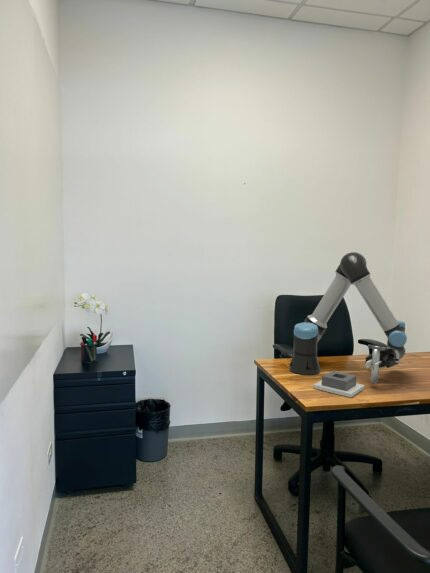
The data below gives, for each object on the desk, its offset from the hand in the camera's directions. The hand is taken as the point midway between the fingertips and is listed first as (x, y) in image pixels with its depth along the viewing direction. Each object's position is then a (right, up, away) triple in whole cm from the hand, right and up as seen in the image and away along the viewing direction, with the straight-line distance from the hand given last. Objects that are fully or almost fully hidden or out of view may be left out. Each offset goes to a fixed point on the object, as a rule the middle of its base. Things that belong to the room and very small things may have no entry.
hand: (371, 366), depth 173 cm
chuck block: (-13, -10, +3) cm, 17 cm away
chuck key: (+3, -8, +5) cm, 10 cm away
